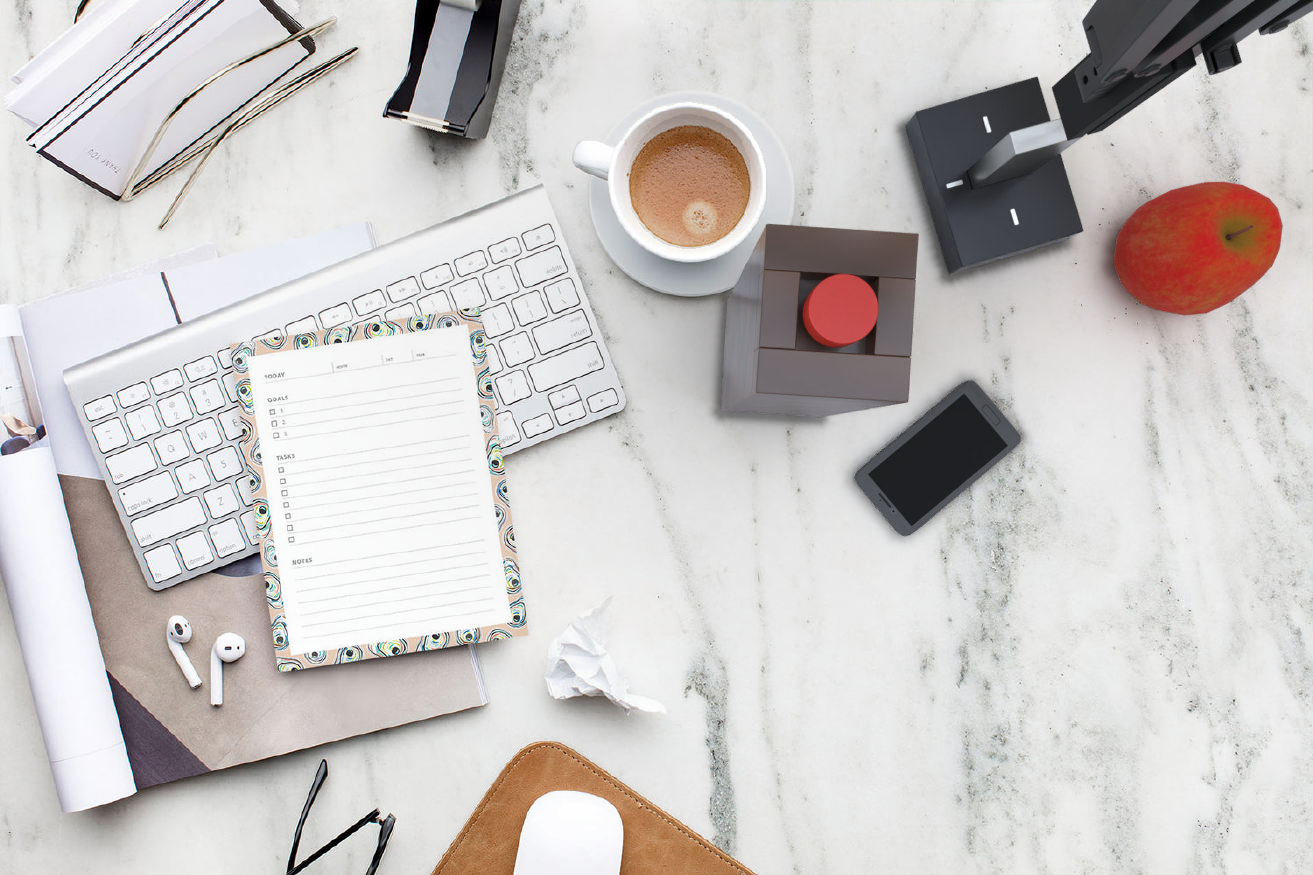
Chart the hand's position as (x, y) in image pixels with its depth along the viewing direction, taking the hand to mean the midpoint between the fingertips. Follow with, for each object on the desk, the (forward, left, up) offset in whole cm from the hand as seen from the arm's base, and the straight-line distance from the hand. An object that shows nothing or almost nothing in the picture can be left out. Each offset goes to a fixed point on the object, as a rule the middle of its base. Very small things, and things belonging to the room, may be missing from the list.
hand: (1077, 109), depth 37 cm
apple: (-2, +25, -33) cm, 41 cm away
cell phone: (+17, +6, -32) cm, 37 cm away
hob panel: (-8, +9, -32) cm, 35 cm away
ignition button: (+9, -9, -8) cm, 15 cm away
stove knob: (-8, +9, -29) cm, 32 cm away
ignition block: (+9, -9, -32) cm, 35 cm away
